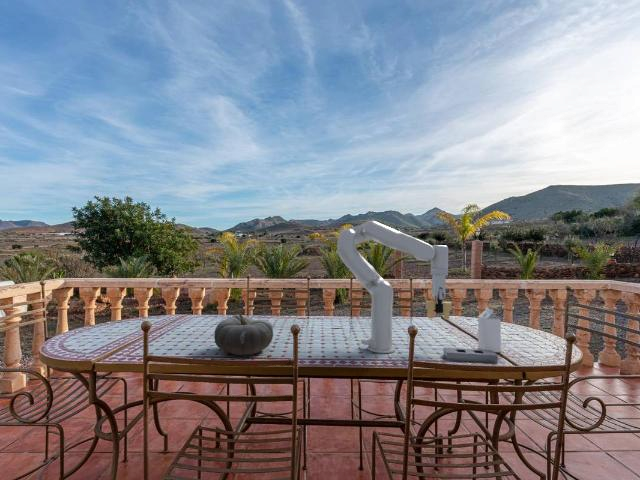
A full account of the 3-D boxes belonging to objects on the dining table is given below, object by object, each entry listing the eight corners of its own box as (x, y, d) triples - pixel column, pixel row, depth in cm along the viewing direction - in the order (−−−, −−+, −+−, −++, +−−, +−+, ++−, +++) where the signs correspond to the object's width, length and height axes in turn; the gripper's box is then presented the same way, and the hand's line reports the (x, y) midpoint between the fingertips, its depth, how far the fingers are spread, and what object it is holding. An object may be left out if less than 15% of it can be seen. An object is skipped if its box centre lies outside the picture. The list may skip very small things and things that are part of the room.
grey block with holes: (446, 359, 154) (446, 352, 154) (443, 354, 162) (443, 347, 162) (497, 362, 151) (497, 355, 151) (491, 357, 159) (491, 350, 159)
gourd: (228, 336, 179) (233, 302, 177) (277, 348, 174) (282, 313, 173) (202, 356, 154) (207, 317, 152) (258, 370, 150) (264, 330, 148)
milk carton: (492, 348, 173) (492, 307, 173) (500, 352, 166) (500, 310, 166) (478, 348, 173) (478, 307, 173) (485, 352, 166) (485, 310, 166)
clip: (426, 318, 168) (426, 301, 168) (425, 317, 171) (425, 300, 171) (451, 319, 166) (451, 303, 166) (450, 318, 169) (450, 302, 169)
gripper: (428, 270, 178) (427, 308, 177) (433, 272, 161) (432, 314, 161) (444, 271, 176) (443, 309, 176) (451, 273, 160) (450, 315, 160)
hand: (438, 311), depth 168 cm, fingers closed on clip, 3 cm apart
